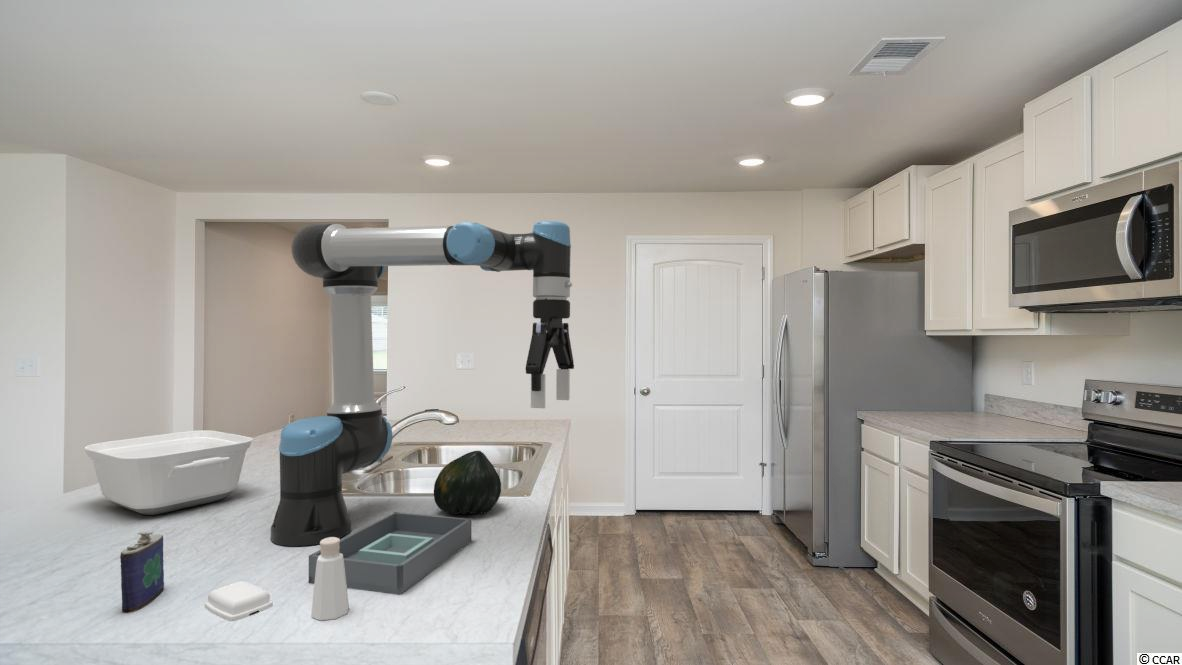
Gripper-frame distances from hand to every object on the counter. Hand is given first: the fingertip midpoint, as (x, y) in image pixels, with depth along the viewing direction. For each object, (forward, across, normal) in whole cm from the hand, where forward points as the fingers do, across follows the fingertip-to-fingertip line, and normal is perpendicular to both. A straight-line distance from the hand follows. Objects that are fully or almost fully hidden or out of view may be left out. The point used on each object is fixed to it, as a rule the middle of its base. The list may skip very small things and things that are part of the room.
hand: (551, 403), depth 127 cm
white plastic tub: (+28, -6, +96) cm, 100 cm away
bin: (+27, -21, +22) cm, 41 cm away
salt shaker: (+27, -42, +19) cm, 53 cm away
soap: (+28, -44, +34) cm, 62 cm away
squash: (+28, +10, +24) cm, 38 cm away
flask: (+28, -47, +50) cm, 74 cm away
